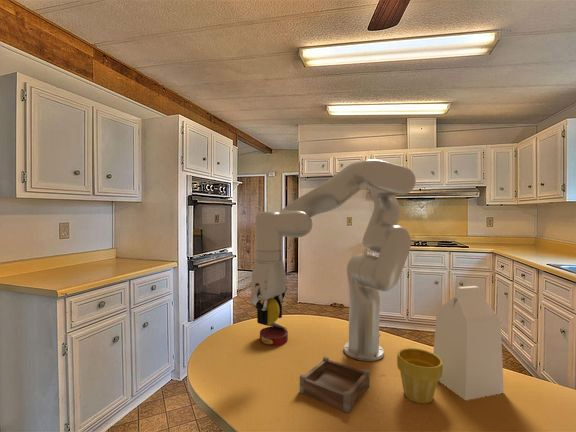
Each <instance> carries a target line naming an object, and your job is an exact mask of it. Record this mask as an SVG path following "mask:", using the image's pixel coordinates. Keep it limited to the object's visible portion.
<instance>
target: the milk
mask: <svg viewBox="0 0 576 432" xmlns="http://www.w3.org/2000/svg"><path fill="white" fill-rule="evenodd" d="M501 323H502V322H501V320H500V317H499V315H498V314H497V313H496V312H495V311H494V309H493V308H492V307H491V305H490V304H489V303H488V302H487V300H485V298H484V297H483V294H482V291H481V287H480V286H477V285H468V286H457V287H456V290H455V292H454V295H453V297H451V298H450V299H449V300H448V301H447V302H445V303H444V304H443V305H441V306H439V308H438V309H437V310H436V316H435V325H434V326H435V329H434V342H433V352H432V353H434V354H435V355H437V356H438V357H439V358H440V359H441V360H442V362H443V368H442V376H441V378H440V379H438V382H439V383H440V384H442V385H443V384H444V385H443V386H445V387H446V386H447V387H446V388H447V389H449V390H450V391H451V392H453V393H454V394H456V395H457V396H458V395H459V396H458V397H460V398H461V399H463V400H464V401H465V400H466V401H471V400H475V399H476V400H477V399H480V398H481V397H482V398H486V397H485V396H487V397H491V395H492V396H497V395H501V393H503V394H504V391H505V390H504V367H503V366H504V365H503V347H502V346H503V343H502V341H503V340H502V325H501ZM496 394H497V395H496ZM470 399H471V400H470Z"/></svg>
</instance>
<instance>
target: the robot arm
mask: <svg viewBox="0 0 576 432" xmlns="http://www.w3.org/2000/svg"><path fill="white" fill-rule="evenodd" d="M416 183H417V182H416V176H415V174H414V172H413V171H412V170H411V169H410V168H408V167H406V166H405V165H404V166H403V165H400V164H395V163H391V162H388V161H383V160H381V159H374V158H373V159H371V158H369V159H364V160H361V161H355V162H351V163H350V164H348V165H346V166H345V167H343V168H342V170H339V172H337V173H336V174H334V175H333V176H332V177H331V178H329V179H327V180H326V181H325V182H323V183H322V184H320V185H319V186H318V187H315V188H314V189H312V190H310V191H308V192H306V193H305V194H303V195H302V196H300V197H298V198H296V199H295V200H293V201H292V202H291V203H289V204H288V205H286V206H285V207H284V208H282V209H281V210H280V211H259V212H258V213H256V215H255V261H254V262H253V266H252V272H251V284H250V286H251V287H250V293H251V294H250V298H249V299H248V300H249V302H250V303H251V304H252V305H253V306H254V308H255V309H256V315H257V317H256V318H257V319H256V320H257V321H256V322H257V324H260V325H264V326H267V323H268V313H267V310H266V306H267V301H268V299H270V298H273V299H275V300H276V301H277V302H278V304H279V309H280V313H279V317H278V319H281V318H282V317H283V303H284V298H285V296H286V293H287V291H288V289H289V288H288V286H287V285H286V271H285V270H286V269H285V263H284V237H285V238H286V237H288V238H302V237H305V236H307V235H308V234H310V232H311V231H312V228H313V220H312V217H315V216H317V215H321V214H323V213H328V212H331V211H333V210H336V209H337V208H339V207H341V206H343V204H345V203H346V202H347V201H348V200H350V199H351V198H352V197H353V196H355V195H356V194H357V193H359V191H361V190H364V189H368V190H369V193H370V194H371V196H372V199H373V204H374V206H373V207H374V208H373V210H372V215H371V216H370V220H369V221H368V225H367V226H366V229H365V232H364V234H363V237H362V245H363V247H364V248H365V250H367V251H369V252H372V253H376V254H378V256H375V255H371V254H366V253H359V254H358V253H357V254H356V255H354V256H352V257H351V258H350V259H349V260H348V263H347V265H346V274H347V282H348V290H349V291H348V293H349V300H348V301H349V304H348V305H349V306H348V341H347V342H346V343H345V344H343V351H344V353H345V354H346V355H347V356H348V357H350V358H351V359H354V360H359V361H362V362H363V361H364V362H373V361H374V362H375V361H379V360H381V359H382V358H383V357H384V356H385V350H384V348H383V347H382V346H380V337H381V334H380V314H381V313H380V310H381V309H380V306H381V300H380V299H381V298H380V292H387V291H391V290H393V288H395V286H396V285H397V283H398V281H399V280H400V277H401V276H402V275H401V274H402V272H403V269H404V268H405V265H406V262H407V259H408V257H409V253H410V250H411V245H412V241H411V240H412V239H411V235H410V232H409V231H408V230H407V229H406V228H405V227H403V226H401V225H398V223H399V220H400V218H401V207H400V203H399V201H398V199H397V197H396V196H403V195H408V194H410V193H411V192H412V191H413V190H414V188H415V187H416ZM379 291H380V292H379ZM262 302H263V304H261V303H262Z"/></svg>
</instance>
